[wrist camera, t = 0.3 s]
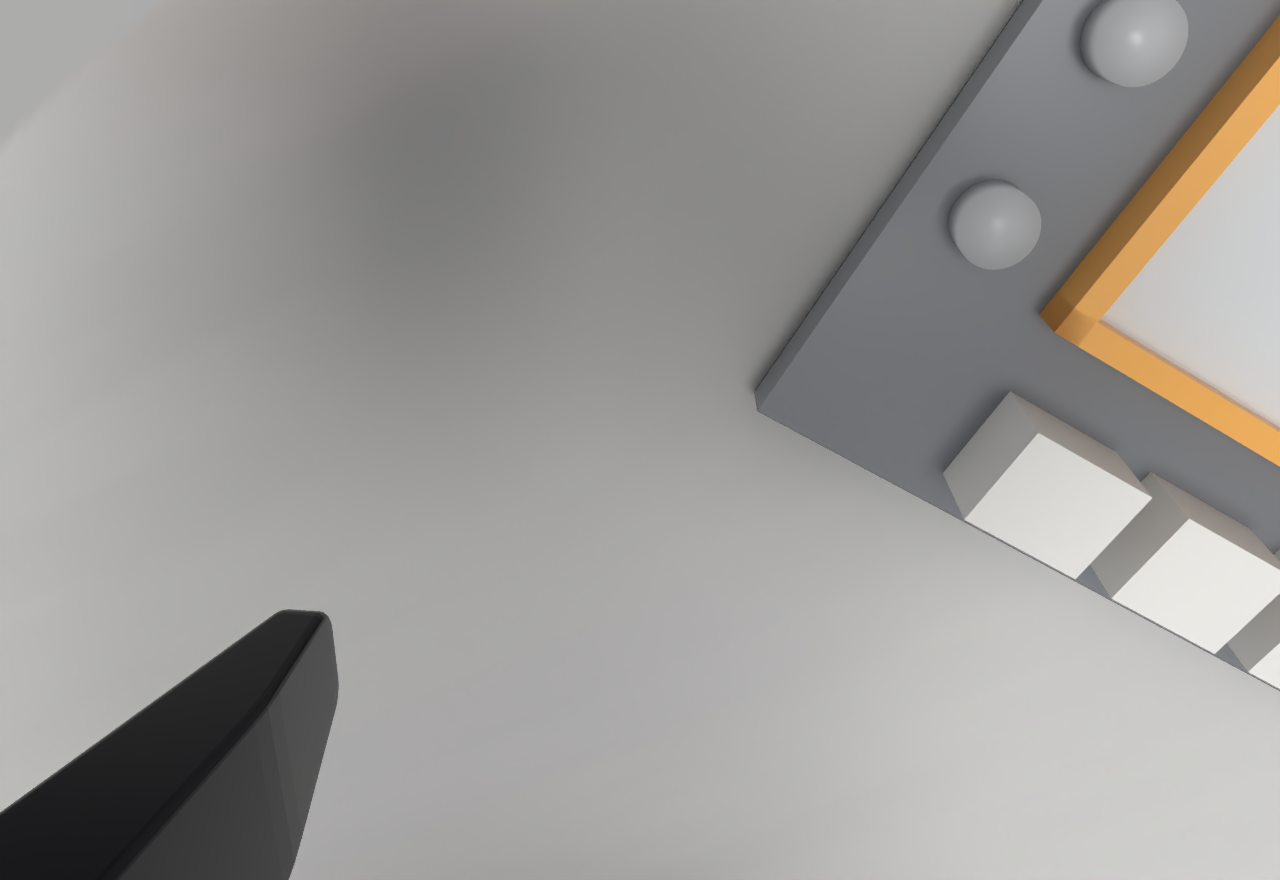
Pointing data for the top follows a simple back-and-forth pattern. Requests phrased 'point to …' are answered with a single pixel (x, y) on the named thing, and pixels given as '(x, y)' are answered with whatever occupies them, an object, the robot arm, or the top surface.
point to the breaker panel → (1083, 314)
